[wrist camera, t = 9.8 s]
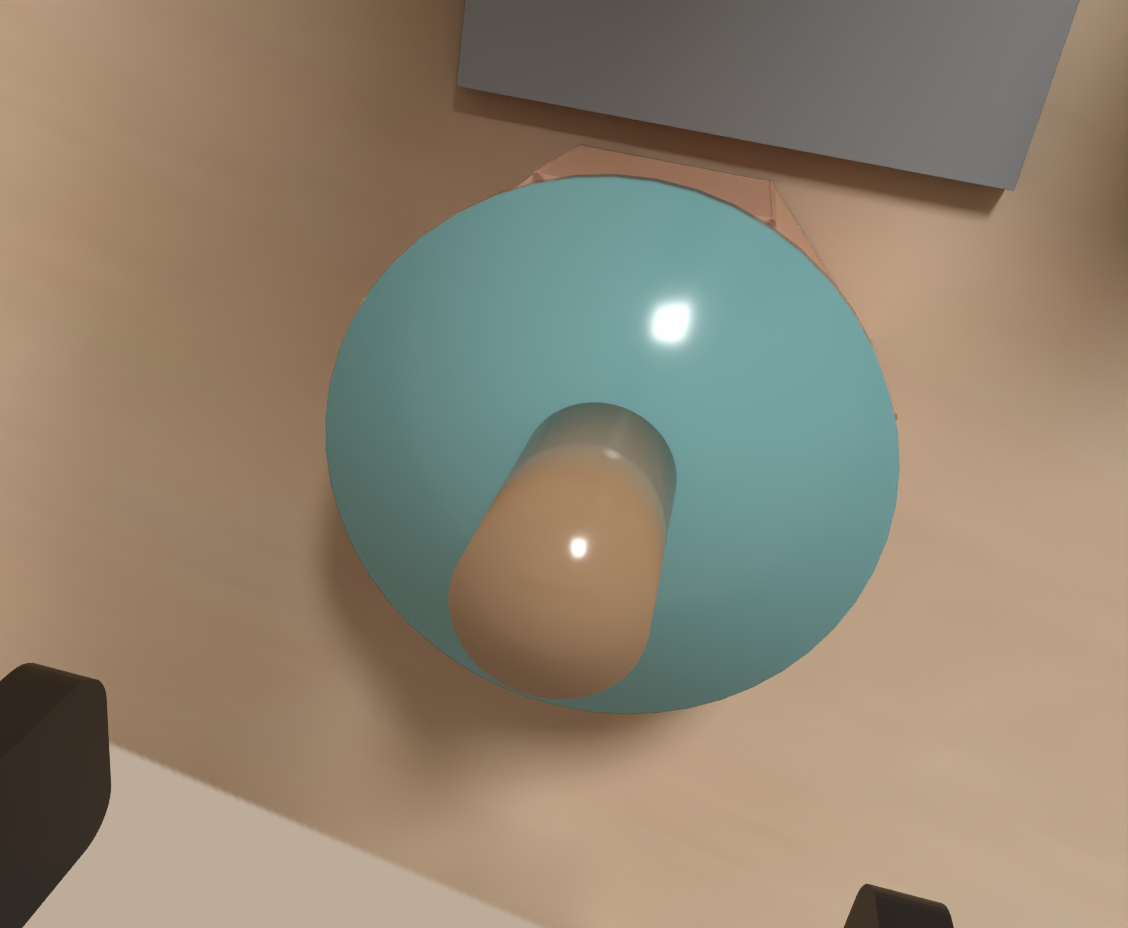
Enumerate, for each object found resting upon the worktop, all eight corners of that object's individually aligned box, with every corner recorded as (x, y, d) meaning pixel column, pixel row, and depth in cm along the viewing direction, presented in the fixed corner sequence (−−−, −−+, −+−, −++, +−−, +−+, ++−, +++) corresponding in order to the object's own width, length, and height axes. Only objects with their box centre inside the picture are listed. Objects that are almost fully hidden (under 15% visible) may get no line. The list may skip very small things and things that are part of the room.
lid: (358, 123, 18) (192, 158, 13) (974, 237, 17) (1072, 327, 12) (326, 626, 22) (195, 805, 17) (809, 742, 21) (825, 971, 16)
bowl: (449, 118, 23) (371, 138, 18) (912, 206, 21) (953, 252, 17) (407, 519, 27) (335, 616, 22) (789, 609, 26) (796, 729, 21)
